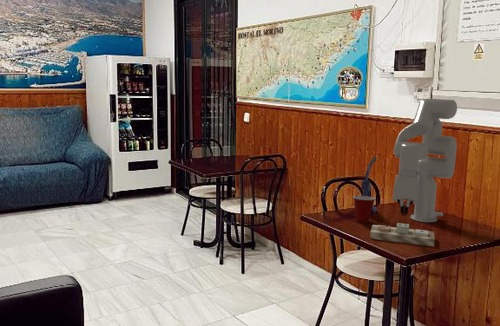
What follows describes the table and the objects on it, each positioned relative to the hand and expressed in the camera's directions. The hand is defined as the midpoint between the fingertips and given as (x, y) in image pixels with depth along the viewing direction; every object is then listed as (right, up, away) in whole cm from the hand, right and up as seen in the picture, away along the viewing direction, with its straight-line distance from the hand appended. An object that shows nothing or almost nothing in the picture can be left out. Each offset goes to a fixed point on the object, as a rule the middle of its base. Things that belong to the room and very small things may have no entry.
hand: (403, 215), depth 217 cm
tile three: (-8, -9, +4) cm, 13 cm away
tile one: (+7, -10, -1) cm, 13 cm away
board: (0, -10, +2) cm, 11 cm away
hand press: (-5, -3, +48) cm, 49 cm away
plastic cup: (-11, -6, +29) cm, 31 cm away
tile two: (0, -8, +1) cm, 8 cm away
